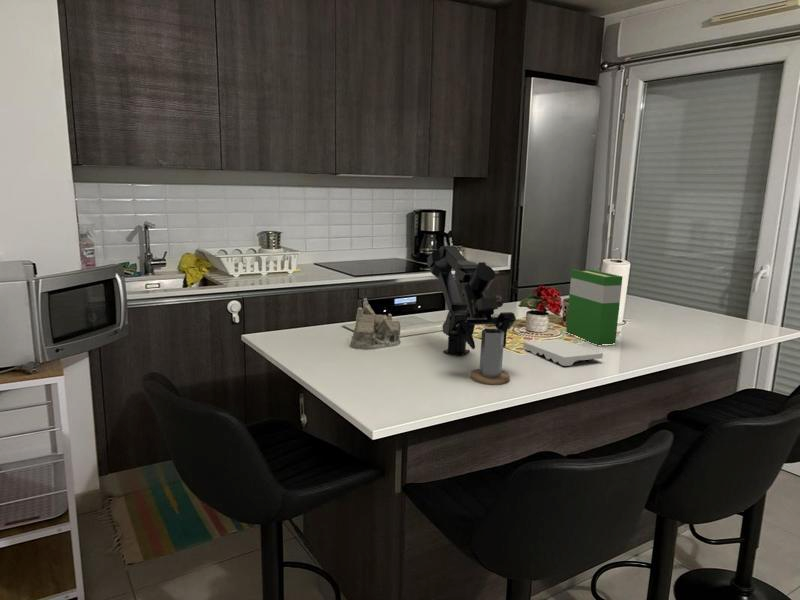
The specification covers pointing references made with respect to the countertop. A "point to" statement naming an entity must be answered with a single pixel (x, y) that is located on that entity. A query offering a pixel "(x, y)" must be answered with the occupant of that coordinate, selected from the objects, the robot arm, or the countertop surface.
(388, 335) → the ceramic cottage
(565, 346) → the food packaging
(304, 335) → the countertop surface
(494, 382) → the post stand
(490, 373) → the steel sleeve
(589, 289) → the hardback book
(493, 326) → the architectural model
